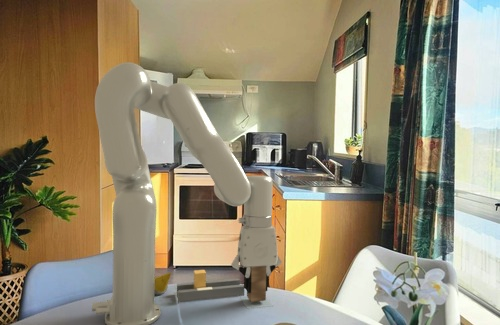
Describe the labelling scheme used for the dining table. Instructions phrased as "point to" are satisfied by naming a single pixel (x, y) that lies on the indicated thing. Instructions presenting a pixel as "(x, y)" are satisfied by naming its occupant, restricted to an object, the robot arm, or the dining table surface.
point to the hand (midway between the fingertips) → (256, 289)
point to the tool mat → (255, 303)
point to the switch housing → (210, 290)
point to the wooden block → (257, 284)
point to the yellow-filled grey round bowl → (161, 283)
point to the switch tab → (199, 279)
